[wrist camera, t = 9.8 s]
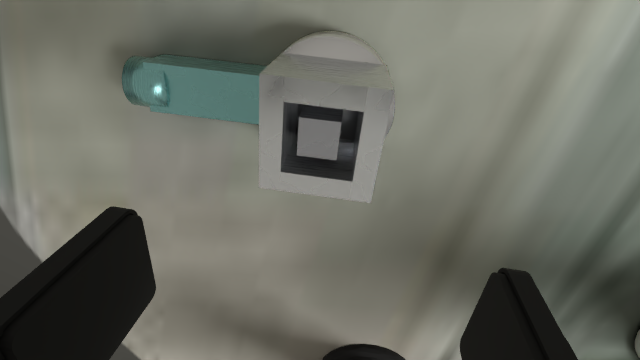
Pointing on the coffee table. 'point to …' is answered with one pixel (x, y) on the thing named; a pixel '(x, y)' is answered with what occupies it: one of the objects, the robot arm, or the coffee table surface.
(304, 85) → the hollow white cube
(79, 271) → the robot arm
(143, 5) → the coffee table surface
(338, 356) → the handle grip
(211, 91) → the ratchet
